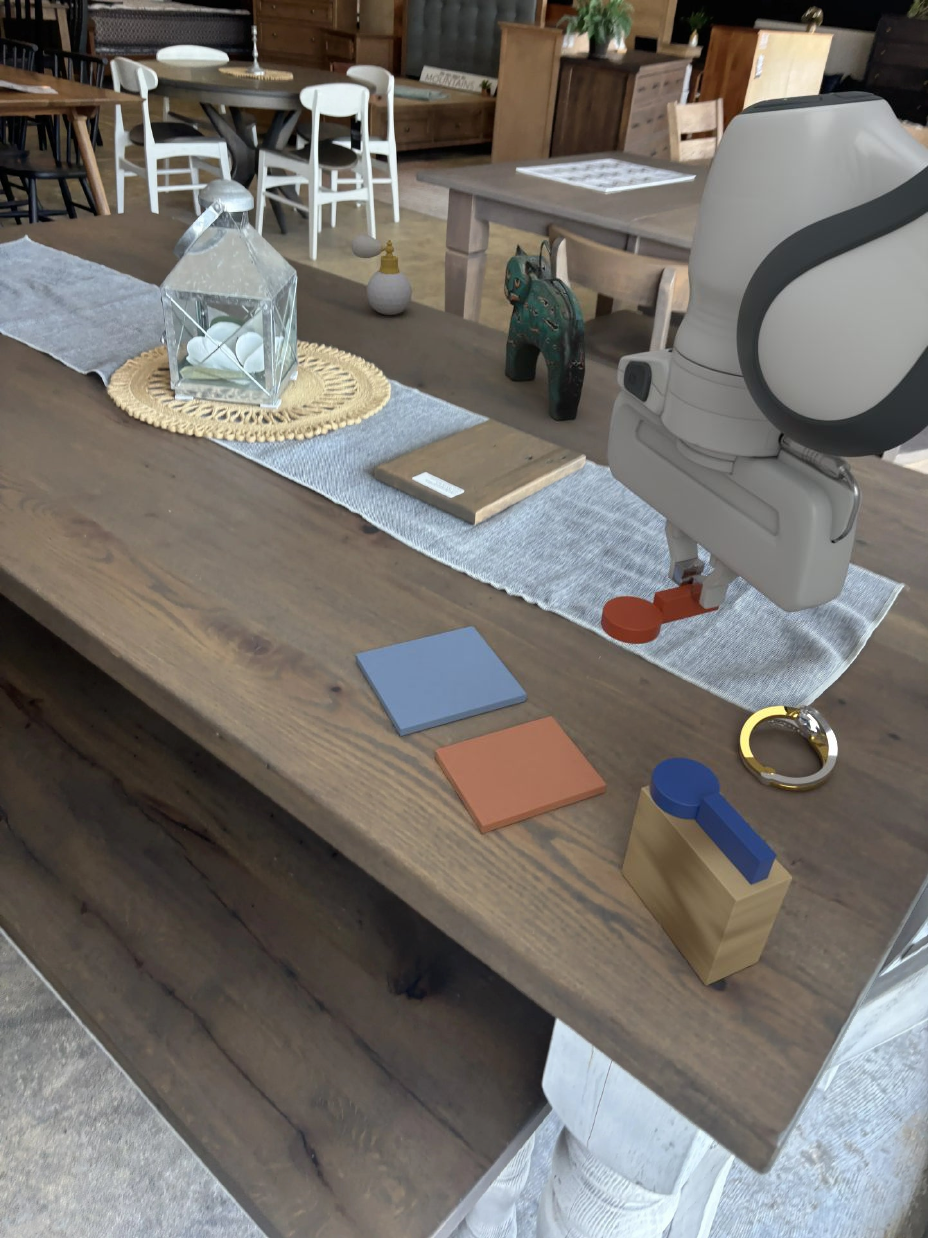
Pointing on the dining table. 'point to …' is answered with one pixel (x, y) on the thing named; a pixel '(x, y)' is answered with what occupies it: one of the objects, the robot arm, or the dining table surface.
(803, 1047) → the dining table surface
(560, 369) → the ceramic cat
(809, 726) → the ring
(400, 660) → the blue tile
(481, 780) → the terracotta tile
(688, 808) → the blue spoon
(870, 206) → the robot arm
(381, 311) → the perfume bottle
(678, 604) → the terracotta spoon
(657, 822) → the spoon stand
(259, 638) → the dining table surface
